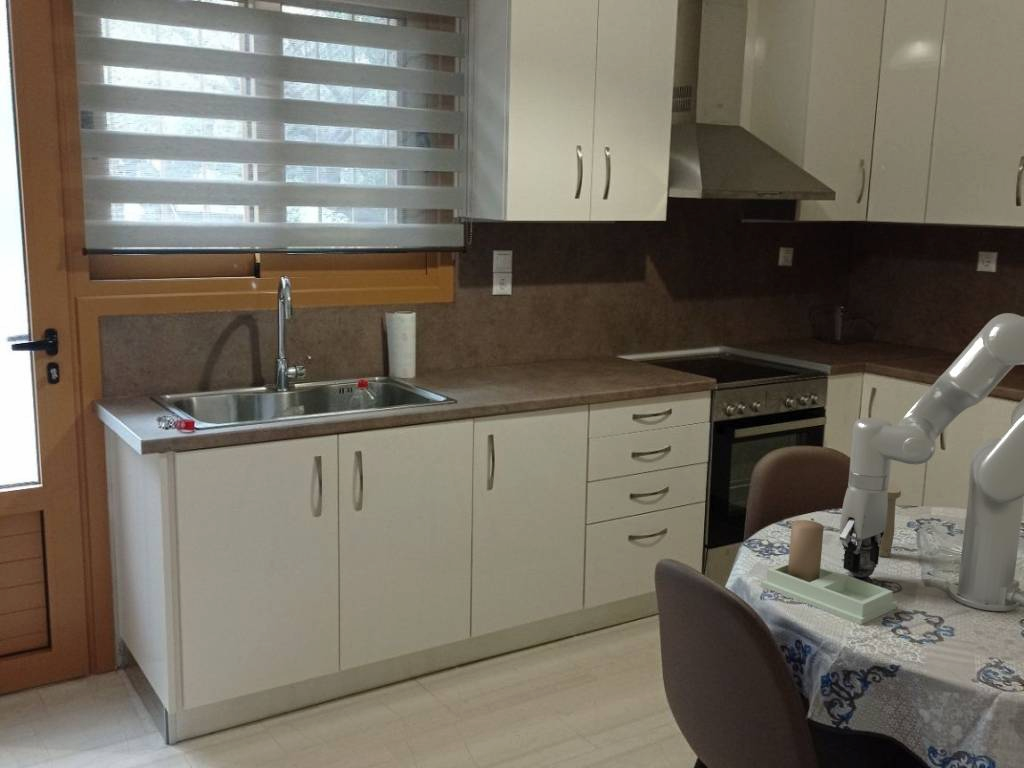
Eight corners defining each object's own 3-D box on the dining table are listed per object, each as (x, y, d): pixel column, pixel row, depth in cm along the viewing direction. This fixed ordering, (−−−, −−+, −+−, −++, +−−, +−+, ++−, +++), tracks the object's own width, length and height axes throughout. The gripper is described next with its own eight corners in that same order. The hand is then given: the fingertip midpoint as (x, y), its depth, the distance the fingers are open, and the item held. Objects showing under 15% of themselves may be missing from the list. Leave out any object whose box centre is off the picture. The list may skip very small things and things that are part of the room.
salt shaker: (876, 587, 197) (882, 529, 195) (846, 584, 199) (851, 526, 196) (872, 576, 203) (877, 520, 201) (842, 573, 204) (847, 517, 202)
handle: (872, 558, 213) (878, 491, 210) (868, 548, 219) (875, 483, 216) (895, 561, 212) (902, 493, 209) (892, 550, 218) (898, 485, 215)
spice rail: (896, 608, 187) (902, 542, 185) (861, 624, 180) (867, 556, 177) (796, 572, 204) (801, 512, 202) (760, 586, 197) (765, 523, 194)
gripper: (875, 469, 205) (867, 552, 209) (827, 483, 194) (819, 570, 198) (909, 477, 199) (900, 562, 203) (861, 493, 189) (853, 582, 192)
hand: (860, 565), depth 200 cm, fingers open, 6 cm apart
